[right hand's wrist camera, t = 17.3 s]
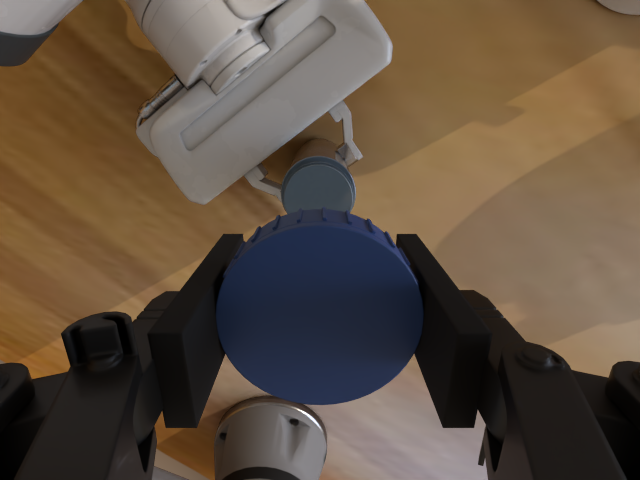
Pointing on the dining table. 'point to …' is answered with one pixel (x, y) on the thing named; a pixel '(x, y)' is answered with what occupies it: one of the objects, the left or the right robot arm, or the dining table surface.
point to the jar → (318, 179)
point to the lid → (319, 308)
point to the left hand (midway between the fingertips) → (325, 182)
